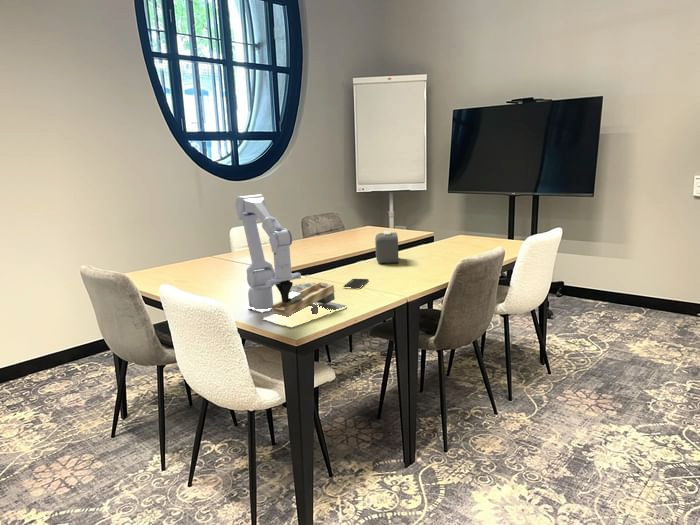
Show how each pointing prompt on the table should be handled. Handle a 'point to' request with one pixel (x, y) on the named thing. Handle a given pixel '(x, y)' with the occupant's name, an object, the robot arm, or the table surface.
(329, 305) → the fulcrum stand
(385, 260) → the alarm clock
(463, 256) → the table surface
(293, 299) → the steel block
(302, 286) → the brain slice
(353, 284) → the phone
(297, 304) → the balance beam
